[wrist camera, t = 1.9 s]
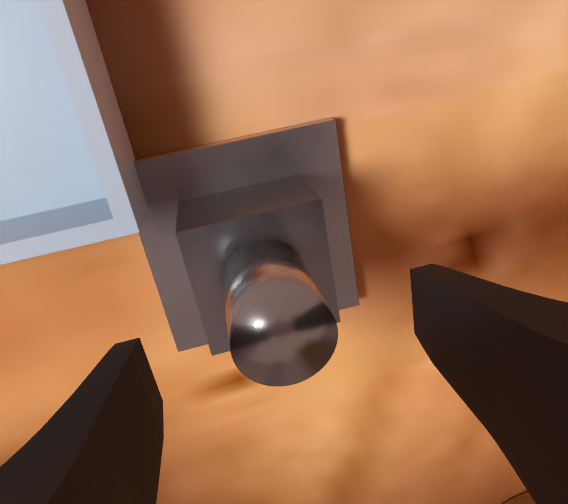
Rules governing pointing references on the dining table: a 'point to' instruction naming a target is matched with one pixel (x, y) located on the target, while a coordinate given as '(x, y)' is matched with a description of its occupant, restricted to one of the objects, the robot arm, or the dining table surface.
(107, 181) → the bin
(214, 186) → the stud plate
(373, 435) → the dining table surface
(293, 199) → the knob
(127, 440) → the robot arm
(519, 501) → the plant pot
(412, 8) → the dining table surface
